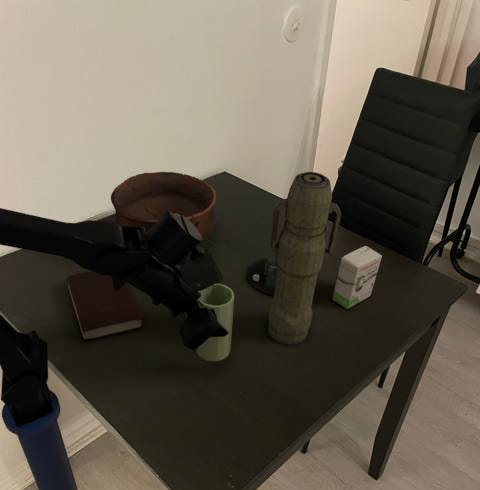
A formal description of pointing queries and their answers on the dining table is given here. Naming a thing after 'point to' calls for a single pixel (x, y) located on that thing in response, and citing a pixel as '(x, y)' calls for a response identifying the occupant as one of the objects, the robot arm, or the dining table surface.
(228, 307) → the pencil cup
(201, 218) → the bowl
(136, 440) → the dining table surface
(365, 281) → the ink box
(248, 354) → the dining table surface
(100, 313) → the book
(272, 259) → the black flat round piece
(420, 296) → the dining table surface
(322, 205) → the thermos
